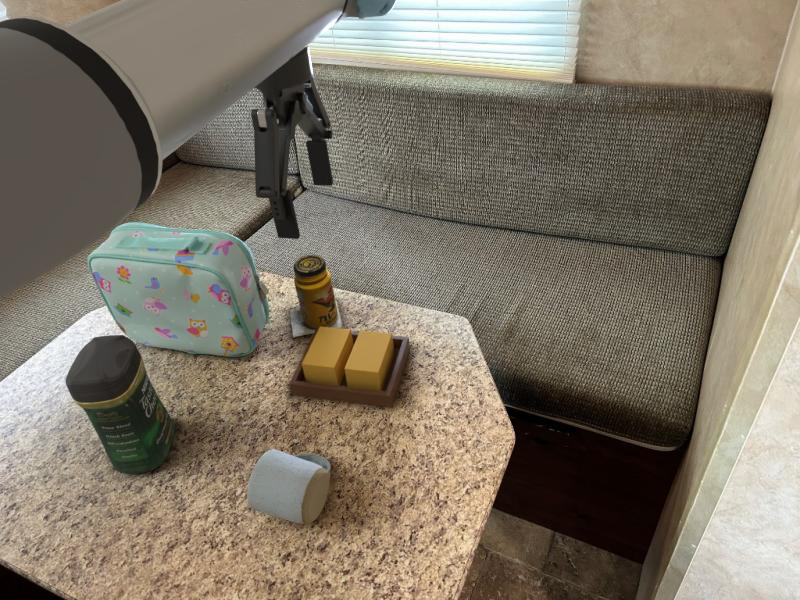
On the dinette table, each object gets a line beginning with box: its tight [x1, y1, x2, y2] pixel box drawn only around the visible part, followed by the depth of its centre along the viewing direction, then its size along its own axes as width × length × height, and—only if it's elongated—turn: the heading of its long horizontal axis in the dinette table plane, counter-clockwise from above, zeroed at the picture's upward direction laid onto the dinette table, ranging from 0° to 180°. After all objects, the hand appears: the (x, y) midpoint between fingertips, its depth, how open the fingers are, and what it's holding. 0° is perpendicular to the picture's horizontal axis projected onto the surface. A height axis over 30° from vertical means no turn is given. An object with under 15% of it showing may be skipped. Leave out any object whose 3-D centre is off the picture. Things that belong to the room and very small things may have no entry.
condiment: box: [289, 254, 343, 338], centre depth 101 cm, size 7×8×12 cm
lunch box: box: [87, 221, 270, 358], centre depth 97 cm, size 27×10×21 cm, turn 76°
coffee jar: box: [64, 334, 176, 475], centre depth 80 cm, size 10×8×19 cm
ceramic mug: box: [246, 448, 331, 525], centre depth 76 cm, size 11×8×8 cm
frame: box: [288, 328, 411, 409], centre depth 94 cm, size 13×16×3 cm
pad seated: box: [345, 329, 395, 391], centre depth 92 cm, size 8×5×4 cm, turn 167°
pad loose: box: [302, 327, 354, 386], centre depth 94 cm, size 8×5×4 cm, turn 167°
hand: (307, 209), depth 82 cm, fingers open, 13 cm apart
